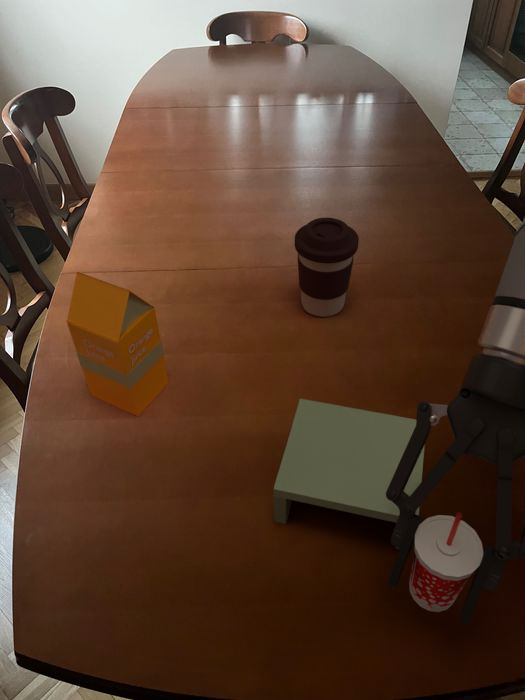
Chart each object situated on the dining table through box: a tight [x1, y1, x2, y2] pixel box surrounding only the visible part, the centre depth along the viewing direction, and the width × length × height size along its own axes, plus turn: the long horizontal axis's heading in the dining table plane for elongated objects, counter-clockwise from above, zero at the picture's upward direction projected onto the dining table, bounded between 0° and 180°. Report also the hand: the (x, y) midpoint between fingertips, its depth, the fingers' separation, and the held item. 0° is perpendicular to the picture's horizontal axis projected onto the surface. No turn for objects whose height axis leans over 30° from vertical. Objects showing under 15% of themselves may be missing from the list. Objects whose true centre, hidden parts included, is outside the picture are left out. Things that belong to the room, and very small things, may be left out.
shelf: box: [272, 398, 426, 551], centre depth 72 cm, size 14×16×7 cm
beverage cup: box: [408, 512, 484, 613], centre depth 55 cm, size 6×6×14 cm
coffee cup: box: [294, 217, 360, 318], centre depth 96 cm, size 10×10×15 cm
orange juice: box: [65, 271, 170, 418], centre depth 81 cm, size 8×9×20 cm
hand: (428, 599), depth 54 cm, fingers closed on beverage cup, 6 cm apart
